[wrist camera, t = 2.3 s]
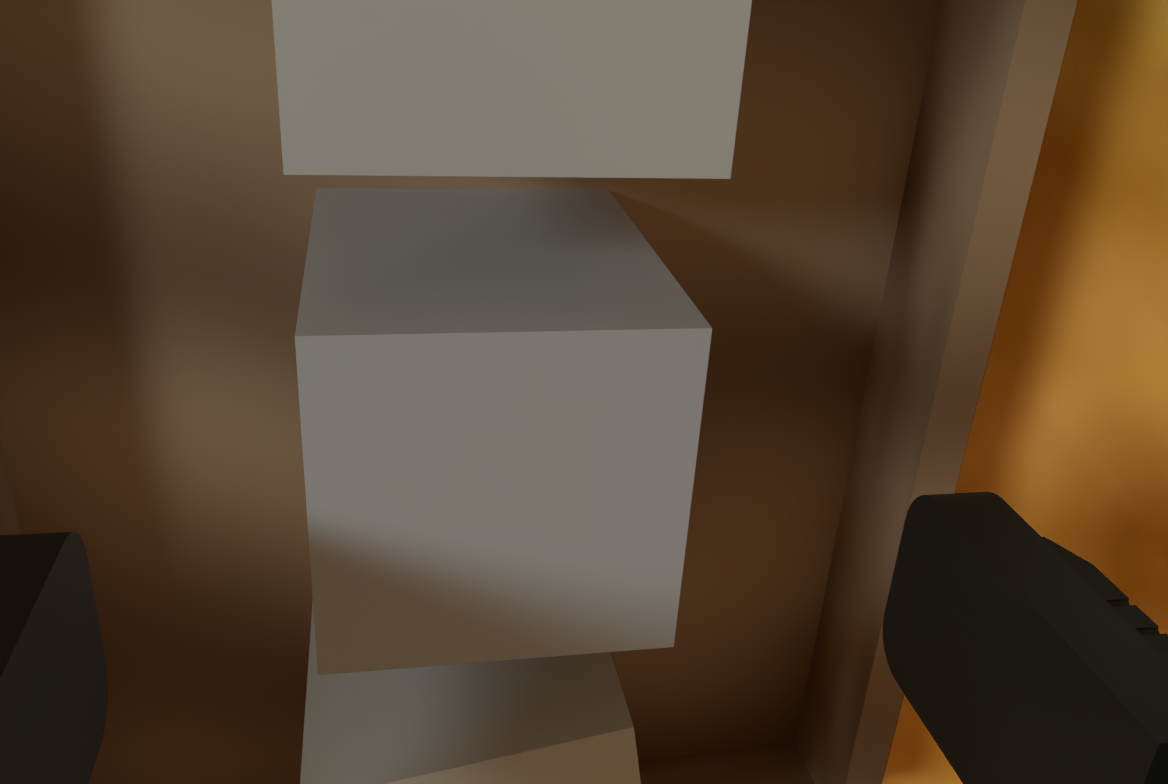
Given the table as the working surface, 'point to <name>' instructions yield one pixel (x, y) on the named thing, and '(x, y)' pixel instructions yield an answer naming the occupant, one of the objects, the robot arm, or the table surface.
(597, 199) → the stone
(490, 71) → the grey rectangular block
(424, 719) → the stone
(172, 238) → the tray
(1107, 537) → the table surface
